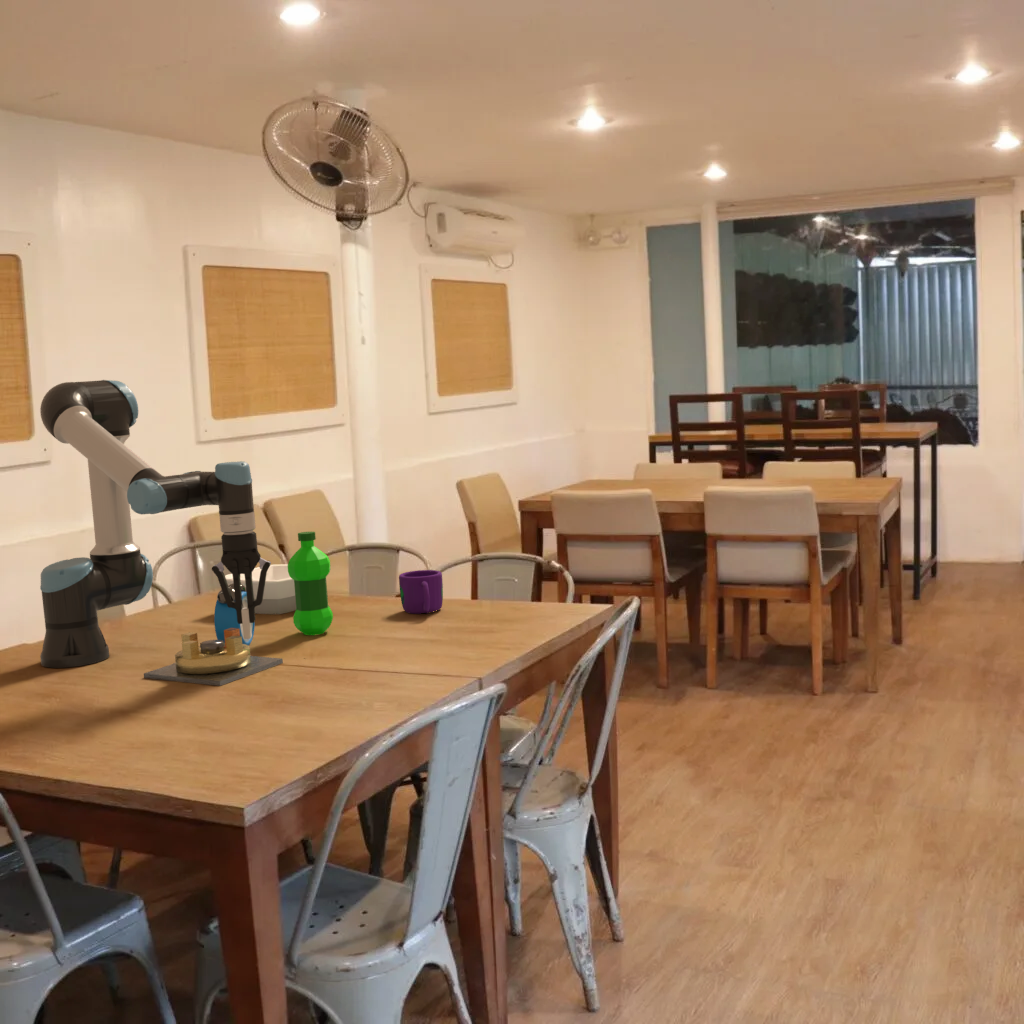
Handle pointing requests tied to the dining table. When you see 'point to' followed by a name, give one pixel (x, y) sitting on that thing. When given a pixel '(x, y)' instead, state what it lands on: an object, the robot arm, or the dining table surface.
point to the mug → (421, 591)
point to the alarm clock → (229, 615)
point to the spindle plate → (214, 678)
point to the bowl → (272, 589)
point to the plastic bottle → (310, 586)
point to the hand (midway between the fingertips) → (248, 637)
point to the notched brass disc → (212, 654)
